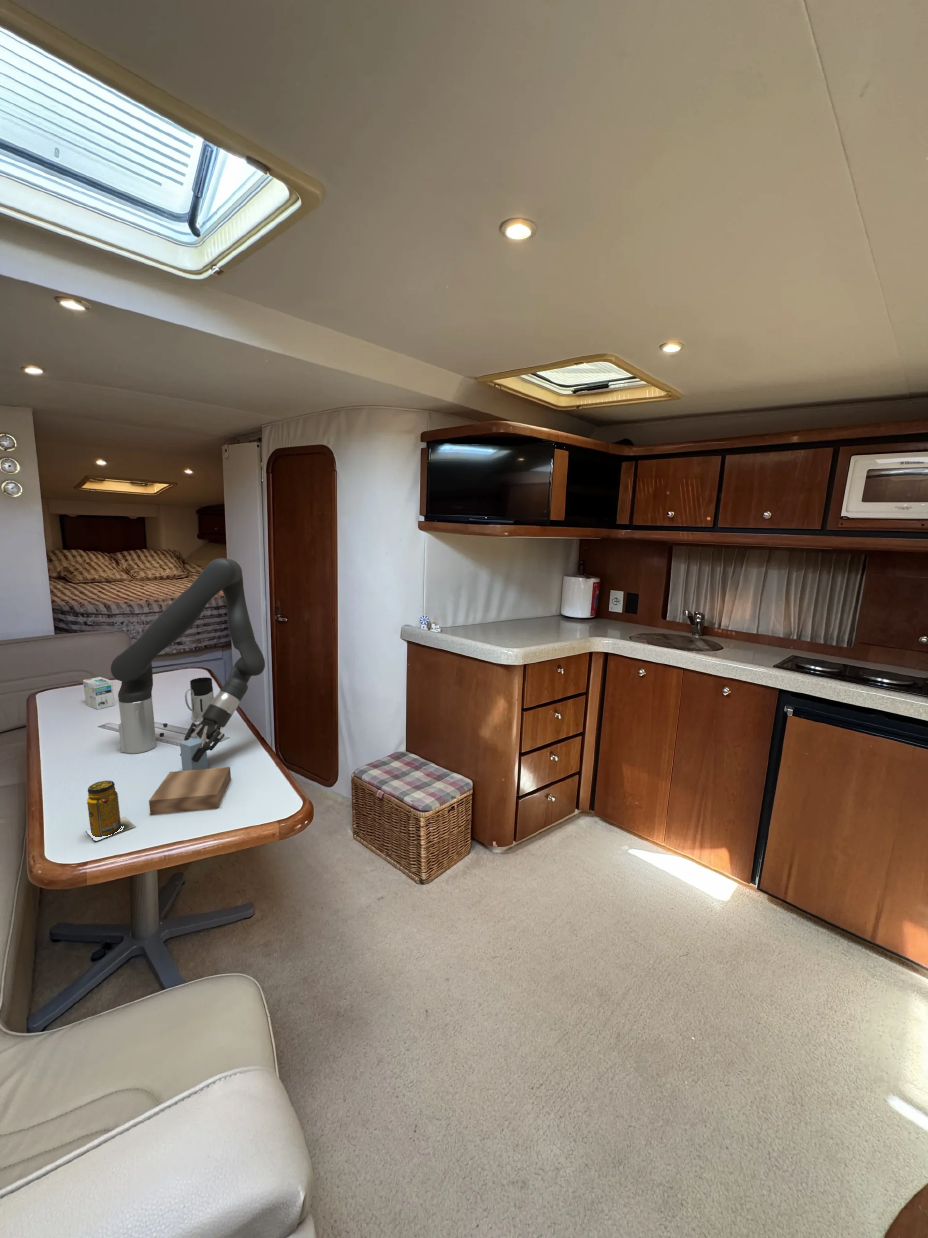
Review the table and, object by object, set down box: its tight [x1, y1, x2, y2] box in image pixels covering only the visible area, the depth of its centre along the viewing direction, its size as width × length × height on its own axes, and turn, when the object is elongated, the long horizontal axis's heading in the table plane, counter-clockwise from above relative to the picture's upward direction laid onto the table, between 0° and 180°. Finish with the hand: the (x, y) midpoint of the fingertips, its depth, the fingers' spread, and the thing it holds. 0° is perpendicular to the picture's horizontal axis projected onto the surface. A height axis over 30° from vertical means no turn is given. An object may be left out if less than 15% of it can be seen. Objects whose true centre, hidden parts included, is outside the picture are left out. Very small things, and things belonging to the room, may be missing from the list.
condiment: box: [86, 780, 136, 837], centre depth 124 cm, size 7×8×12 cm
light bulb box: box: [82, 676, 116, 710], centre depth 209 cm, size 11×7×11 cm, turn 58°
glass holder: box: [184, 676, 215, 722], centre depth 195 cm, size 9×14×15 cm, turn 174°
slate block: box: [179, 738, 209, 771], centre depth 155 cm, size 5×5×9 cm
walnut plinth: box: [148, 766, 232, 816], centre depth 140 cm, size 16×16×4 cm
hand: (188, 758), depth 154 cm, fingers closed on slate block, 5 cm apart
